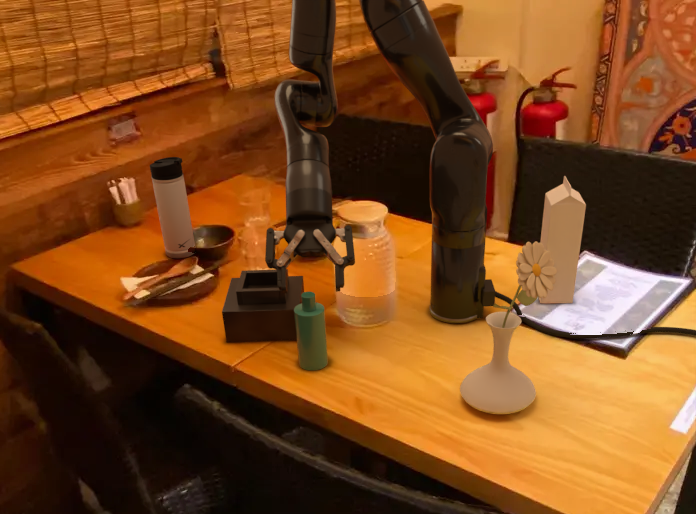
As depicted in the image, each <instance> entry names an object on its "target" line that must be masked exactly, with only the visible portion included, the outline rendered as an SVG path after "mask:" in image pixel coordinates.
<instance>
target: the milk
mask: <svg viewBox="0 0 696 514" xmlns="http://www.w3.org/2000/svg"><path fill="white" fill-rule="evenodd" d="M586 209H587V204H586V202H585V200H584V199H583V197H582V195H581V194H580V192H579V191H578V190H575V189H574V188H573V187H572V185H571V184H570V182H569V180H568V178H567V176H566V175H564V176H563V181H562V184H559V185H557V186H556V187H554V188H552V189H550V190H549V191H547V192H545V195H544V204H543V213H542V223H541V234H540V242H539V243H542V245H543V246H544V250H546V251H549V252H550V253H551V258H552V260H553V261H554V266H553V267H554V268H556V270H557V273H556V274H555V275H553V276H554V278H555V283H554V284H553V287H554V288H553V290H549V289H547V291H548V293H547V297H546V298H544V297H542V298H539V297H538V298H537V299H538V301H539V304H573V302H574V295H575V288H576V280H577V273H578V267H579V259H580V251H581V244H582V238H583V231H584V222H585V217H586V216H585V214H586Z"/></svg>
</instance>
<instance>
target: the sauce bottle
mask: <svg viewBox="0 0 696 514" xmlns="http://www.w3.org/2000/svg"><path fill="white" fill-rule="evenodd" d="M316 300H317V299H316V293H315V292H314V291H304V293H302V294H301V301H302V303H301V304H299V305H297V306H296V307H295V308H294V316H295V327H296V337H297V340H296V347H297V348H296V349H297V358H298V359H297V360H298V366H299V367H300V368H301V369H303V370H306V371H320V370H322V369H324V368H326V366H328V364H329V356H328V354H329V353H328V342H327V341H328V340H327V339H328V338H327V327H326V326H327V325H326V312H325V311H326V310H325V305H323V304H322V303H319V302H317V301H316Z"/></svg>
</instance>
